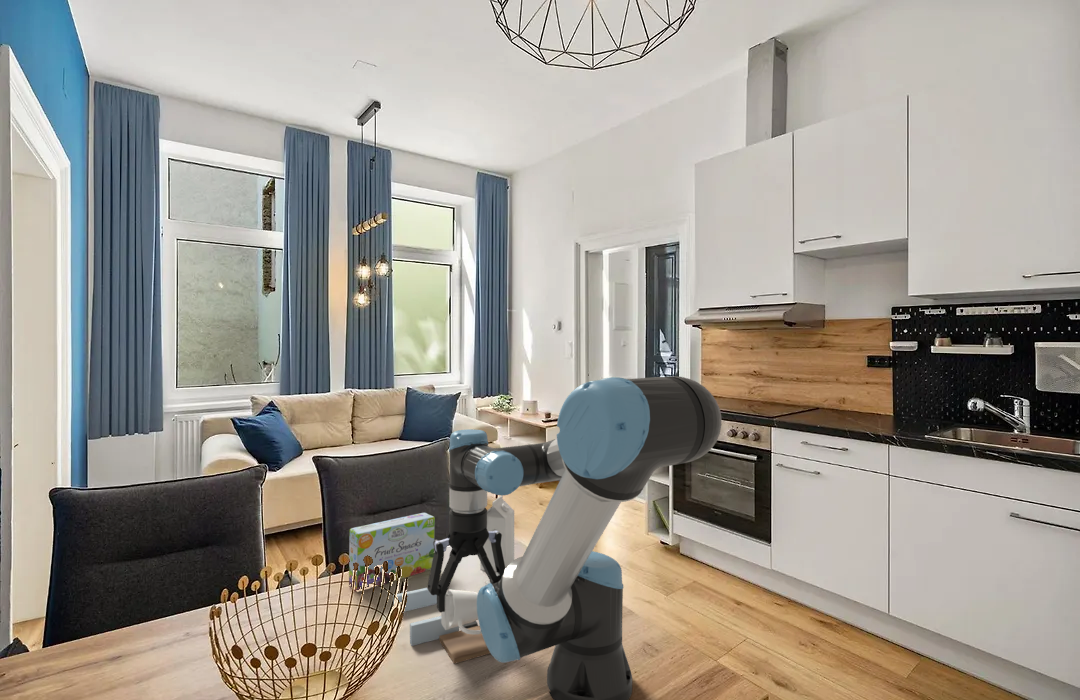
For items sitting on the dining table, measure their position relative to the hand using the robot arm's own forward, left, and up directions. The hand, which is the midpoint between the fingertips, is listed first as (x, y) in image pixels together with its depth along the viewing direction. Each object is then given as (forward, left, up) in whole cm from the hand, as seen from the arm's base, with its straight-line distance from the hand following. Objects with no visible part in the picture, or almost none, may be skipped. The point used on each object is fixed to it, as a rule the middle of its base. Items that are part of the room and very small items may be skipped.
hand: (467, 620), depth 108 cm
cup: (-1, -4, +2) cm, 5 cm away
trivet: (0, 0, -5) cm, 5 cm away
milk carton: (+31, -20, -5) cm, 38 cm away
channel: (+13, +5, -5) cm, 15 cm away
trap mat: (+13, -3, -5) cm, 14 cm away
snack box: (+38, +6, -5) cm, 39 cm away
